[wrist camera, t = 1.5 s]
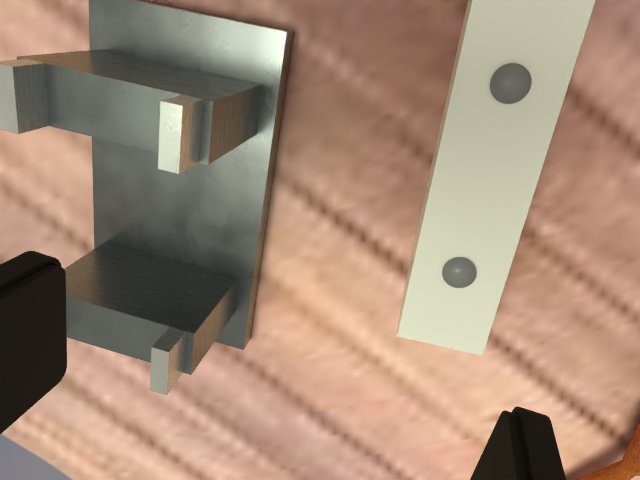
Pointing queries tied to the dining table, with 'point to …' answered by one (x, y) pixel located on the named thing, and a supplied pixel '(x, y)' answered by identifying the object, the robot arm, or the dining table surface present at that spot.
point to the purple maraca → (622, 463)
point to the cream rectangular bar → (488, 163)
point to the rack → (164, 173)
